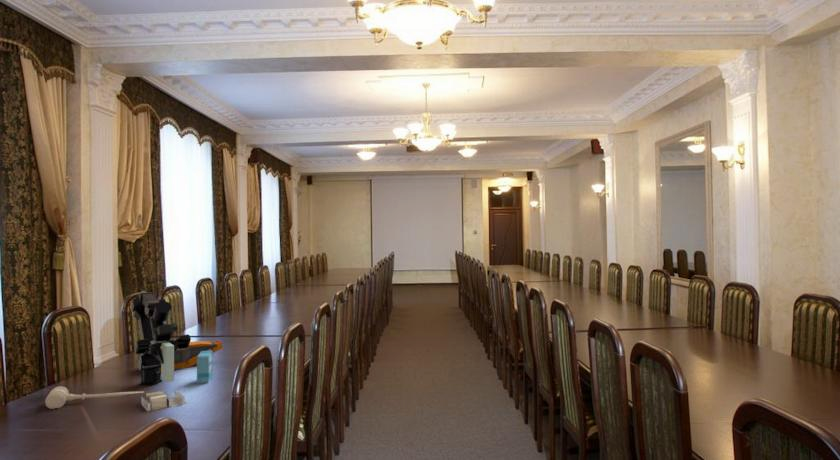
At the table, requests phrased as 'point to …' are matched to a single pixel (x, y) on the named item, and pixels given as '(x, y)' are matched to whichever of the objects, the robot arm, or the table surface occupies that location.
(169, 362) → the pale green slab
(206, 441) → the table surface
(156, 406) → the offcut lower
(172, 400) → the rack
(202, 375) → the data package
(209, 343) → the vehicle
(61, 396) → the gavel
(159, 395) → the offcut upper
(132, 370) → the table surface
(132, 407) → the table surface
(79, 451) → the table surface
